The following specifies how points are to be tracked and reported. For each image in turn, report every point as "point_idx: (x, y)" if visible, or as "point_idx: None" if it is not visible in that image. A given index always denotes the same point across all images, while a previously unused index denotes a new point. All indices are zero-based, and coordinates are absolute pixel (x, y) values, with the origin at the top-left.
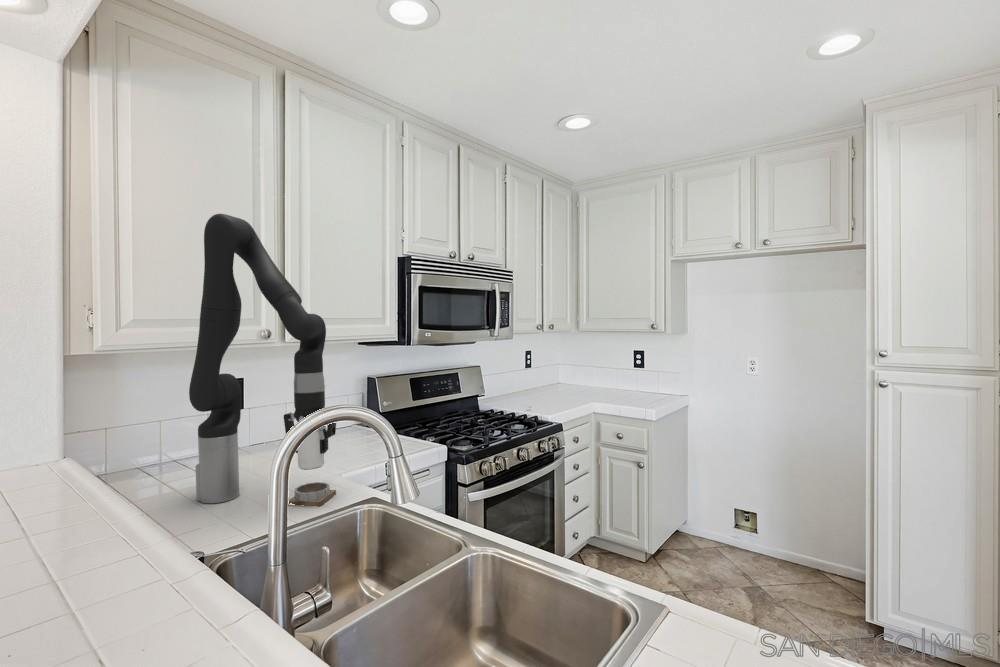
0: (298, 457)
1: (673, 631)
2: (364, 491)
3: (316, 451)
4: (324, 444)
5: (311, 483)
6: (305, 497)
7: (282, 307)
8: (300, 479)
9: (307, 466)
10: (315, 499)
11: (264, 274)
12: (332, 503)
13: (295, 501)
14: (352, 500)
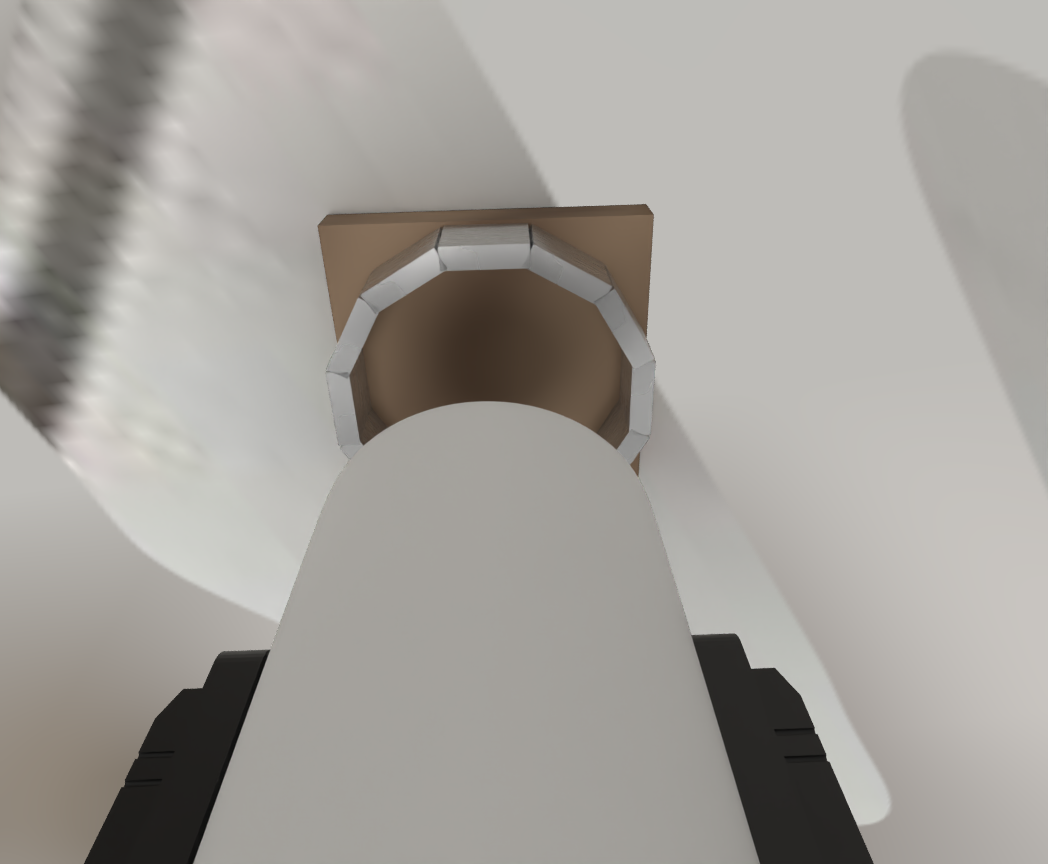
0: (622, 523)
1: None
2: (189, 556)
3: (278, 636)
4: (135, 808)
5: None
6: (466, 235)
7: None
8: (810, 687)
9: (438, 420)
10: (386, 263)
11: None
12: (270, 304)
13: (571, 216)
14: (147, 386)
